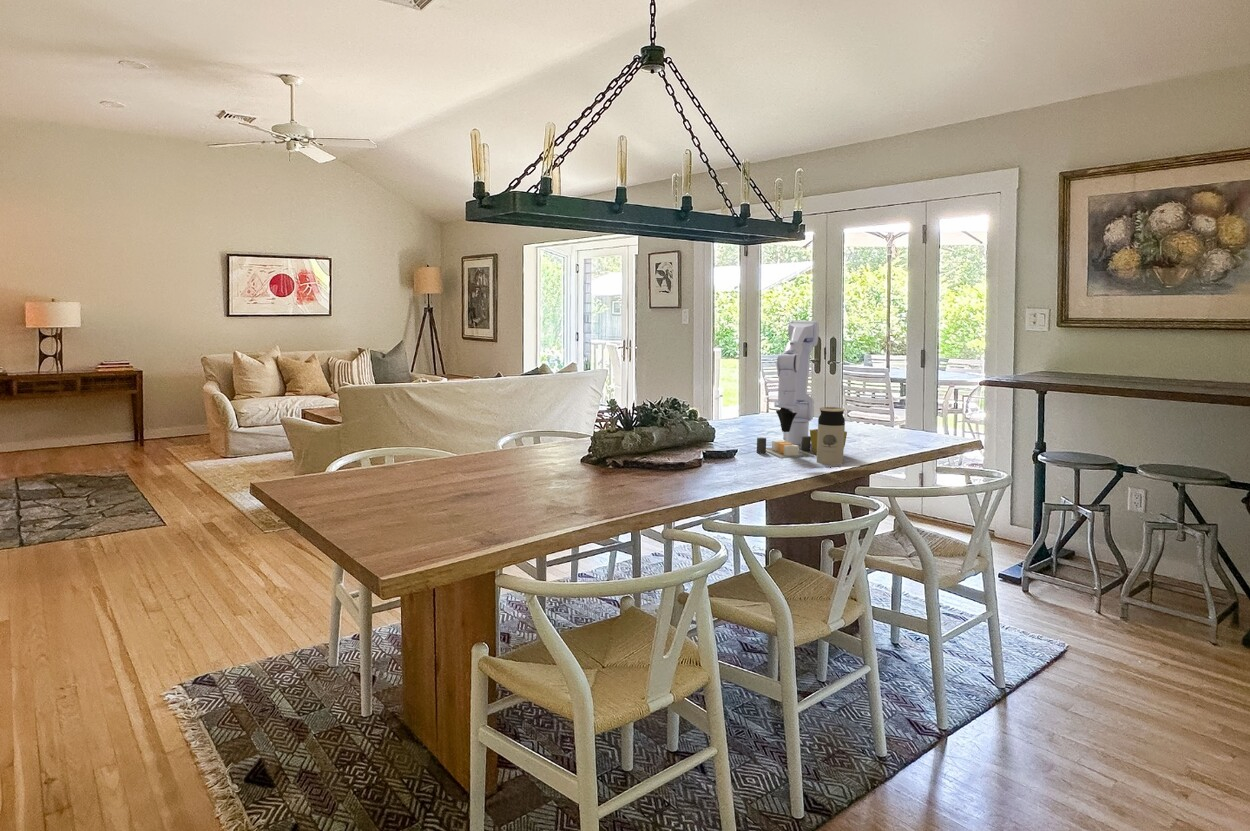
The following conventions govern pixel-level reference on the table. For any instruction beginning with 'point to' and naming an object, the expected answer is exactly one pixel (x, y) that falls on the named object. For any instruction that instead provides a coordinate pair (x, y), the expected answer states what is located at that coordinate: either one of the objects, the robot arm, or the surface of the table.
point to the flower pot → (815, 436)
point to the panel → (781, 455)
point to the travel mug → (830, 436)
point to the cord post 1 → (761, 445)
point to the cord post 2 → (805, 443)
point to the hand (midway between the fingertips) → (785, 431)
